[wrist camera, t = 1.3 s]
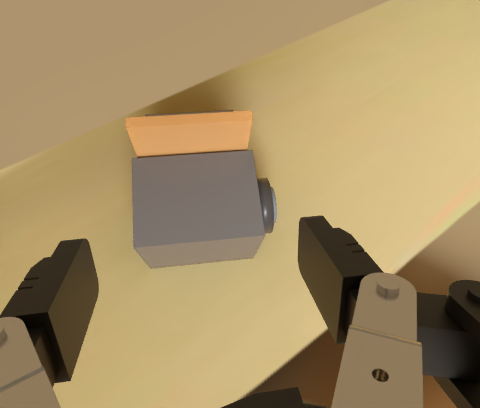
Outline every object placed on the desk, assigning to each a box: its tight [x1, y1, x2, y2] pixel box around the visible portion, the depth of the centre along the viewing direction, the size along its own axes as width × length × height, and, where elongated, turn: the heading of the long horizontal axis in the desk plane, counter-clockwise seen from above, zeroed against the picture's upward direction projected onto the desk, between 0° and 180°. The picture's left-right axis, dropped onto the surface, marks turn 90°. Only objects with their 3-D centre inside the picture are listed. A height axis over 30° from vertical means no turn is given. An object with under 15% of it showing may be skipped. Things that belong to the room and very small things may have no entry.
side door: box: [126, 110, 253, 158], centre depth 39 cm, size 11×2×15 cm, turn 97°
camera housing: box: [132, 150, 277, 268], centre depth 40 cm, size 14×9×10 cm, turn 97°
